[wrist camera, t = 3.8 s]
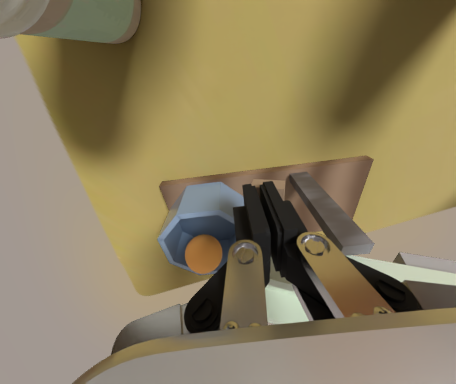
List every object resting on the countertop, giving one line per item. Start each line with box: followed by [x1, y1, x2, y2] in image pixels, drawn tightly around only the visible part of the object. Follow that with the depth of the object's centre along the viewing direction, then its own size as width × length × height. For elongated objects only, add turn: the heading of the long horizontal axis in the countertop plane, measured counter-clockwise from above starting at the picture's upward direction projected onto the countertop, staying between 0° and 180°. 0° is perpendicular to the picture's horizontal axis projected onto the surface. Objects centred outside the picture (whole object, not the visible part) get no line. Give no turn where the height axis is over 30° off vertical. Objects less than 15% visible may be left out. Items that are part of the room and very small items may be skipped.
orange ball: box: [185, 234, 222, 274], centre depth 18 cm, size 4×4×4 cm
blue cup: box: [157, 182, 244, 275], centre depth 21 cm, size 10×10×6 cm
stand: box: [159, 156, 374, 256], centre depth 19 cm, size 26×11×12 cm, turn 97°
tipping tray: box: [252, 179, 456, 324], centre depth 12 cm, size 14×13×5 cm
